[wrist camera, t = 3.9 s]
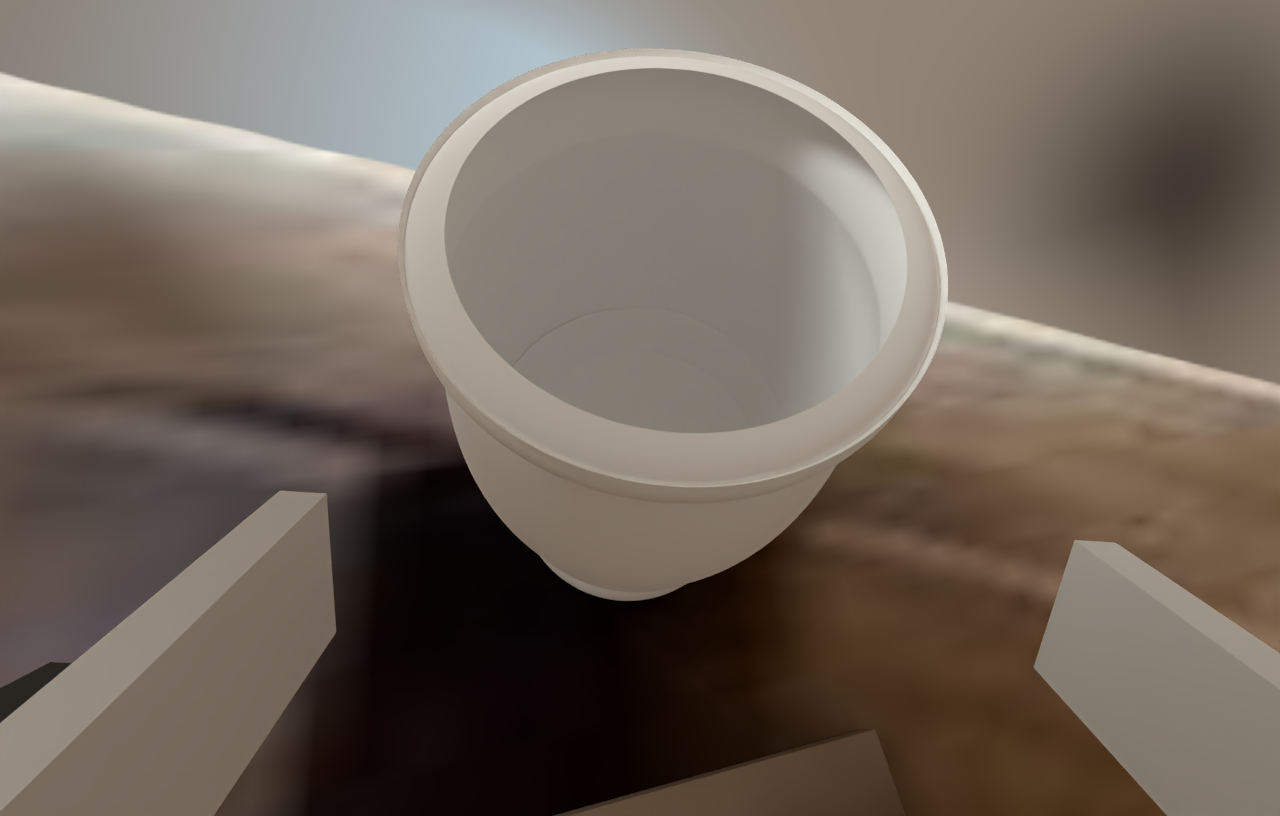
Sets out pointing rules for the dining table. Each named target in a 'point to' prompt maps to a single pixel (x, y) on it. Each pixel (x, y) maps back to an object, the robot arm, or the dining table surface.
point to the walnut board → (777, 786)
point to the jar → (665, 305)
